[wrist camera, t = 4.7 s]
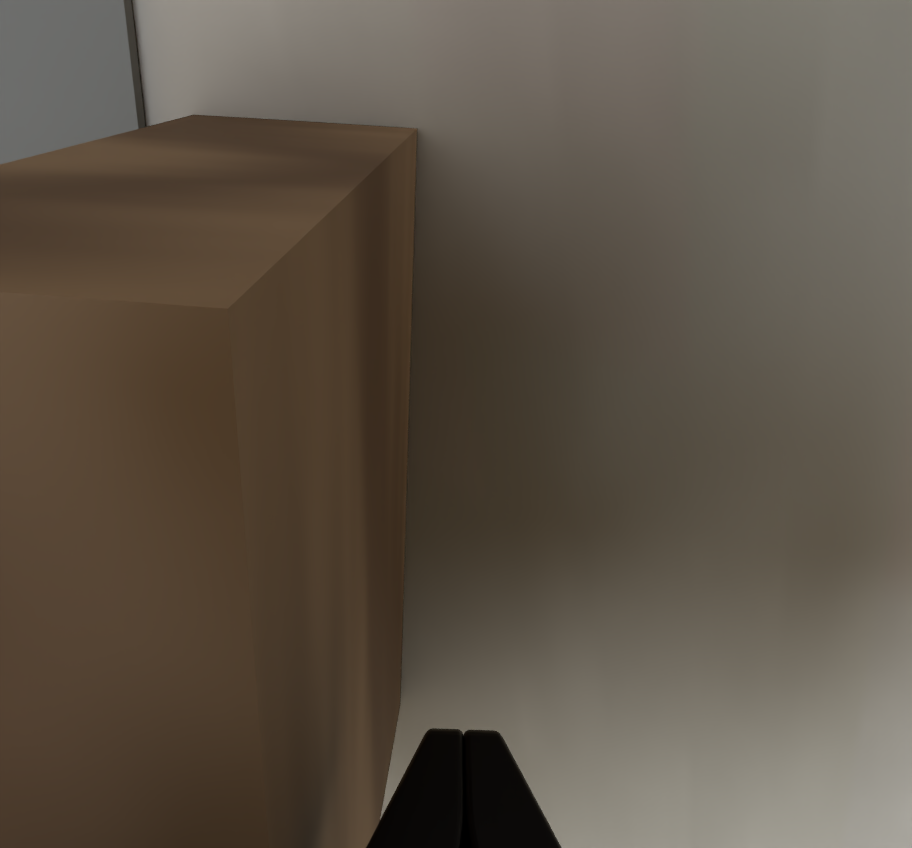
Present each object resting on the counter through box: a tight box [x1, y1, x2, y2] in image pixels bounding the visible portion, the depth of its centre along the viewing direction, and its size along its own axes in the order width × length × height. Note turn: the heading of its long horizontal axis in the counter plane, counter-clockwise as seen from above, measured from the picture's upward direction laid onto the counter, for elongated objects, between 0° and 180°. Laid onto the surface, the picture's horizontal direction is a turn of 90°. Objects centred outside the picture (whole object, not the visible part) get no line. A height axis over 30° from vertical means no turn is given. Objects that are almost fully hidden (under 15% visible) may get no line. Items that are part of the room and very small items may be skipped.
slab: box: [0, 115, 417, 848], centre depth 11 cm, size 4×12×9 cm, turn 177°
